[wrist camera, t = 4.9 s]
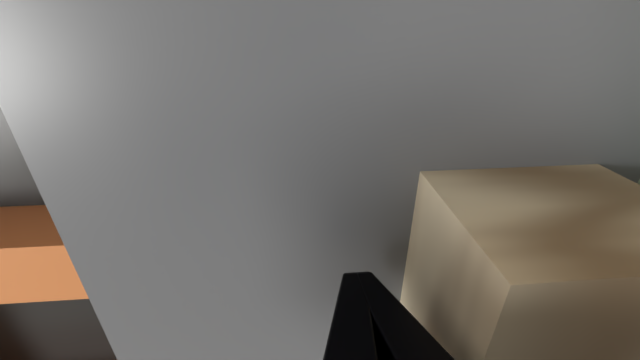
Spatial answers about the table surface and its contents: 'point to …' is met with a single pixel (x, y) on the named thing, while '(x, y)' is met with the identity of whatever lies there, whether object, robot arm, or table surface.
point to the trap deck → (268, 154)
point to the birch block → (527, 263)
